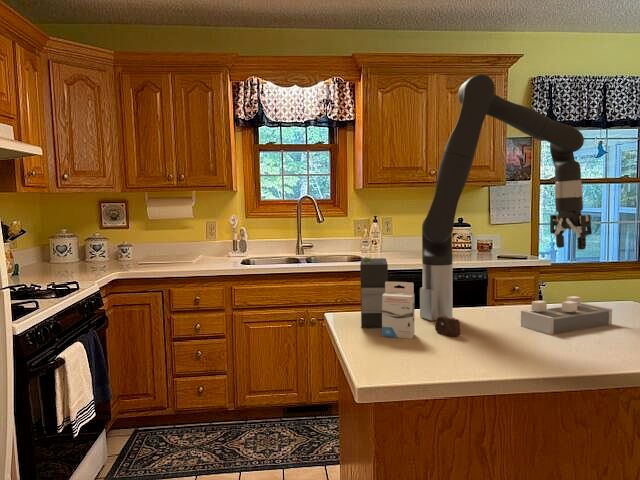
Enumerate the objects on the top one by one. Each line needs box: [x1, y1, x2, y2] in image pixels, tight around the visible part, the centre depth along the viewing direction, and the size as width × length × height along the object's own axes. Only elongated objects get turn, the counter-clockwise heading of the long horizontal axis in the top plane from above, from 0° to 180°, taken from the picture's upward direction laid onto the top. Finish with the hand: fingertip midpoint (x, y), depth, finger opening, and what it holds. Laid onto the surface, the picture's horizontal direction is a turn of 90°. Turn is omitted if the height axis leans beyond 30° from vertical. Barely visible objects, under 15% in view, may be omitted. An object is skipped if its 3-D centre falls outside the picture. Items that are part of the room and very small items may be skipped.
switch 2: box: [565, 295, 582, 306], centre depth 149 cm, size 3×2×2 cm
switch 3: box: [561, 300, 577, 312], centre depth 142 cm, size 3×2×2 cm
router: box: [359, 256, 389, 329], centre depth 152 cm, size 8×18×20 cm, turn 174°
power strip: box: [520, 302, 613, 335], centre depth 143 cm, size 24×10×5 cm, turn 113°
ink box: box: [381, 281, 415, 340], centre depth 136 cm, size 8×5×15 cm, turn 72°
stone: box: [434, 316, 461, 337], centre depth 136 cm, size 8×3×5 cm, turn 33°
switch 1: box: [531, 300, 548, 312], centre depth 143 cm, size 3×2×2 cm
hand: (570, 248), depth 152 cm, fingers open, 8 cm apart
